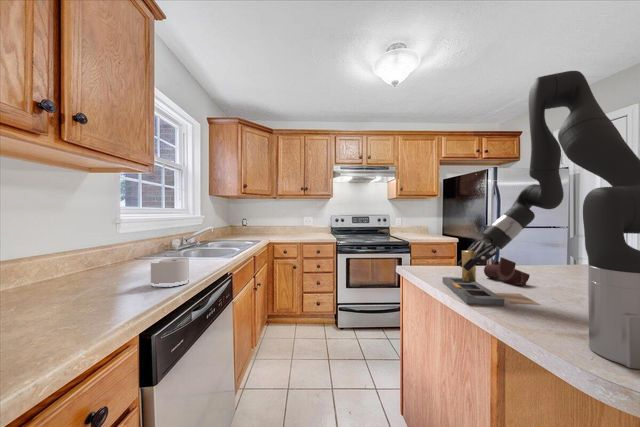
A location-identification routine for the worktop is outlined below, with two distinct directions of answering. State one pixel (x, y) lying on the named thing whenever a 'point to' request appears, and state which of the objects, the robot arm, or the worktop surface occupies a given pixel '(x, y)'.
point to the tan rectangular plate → (516, 298)
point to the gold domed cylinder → (471, 274)
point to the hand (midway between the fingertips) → (462, 267)
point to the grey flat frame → (473, 292)
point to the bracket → (506, 272)
